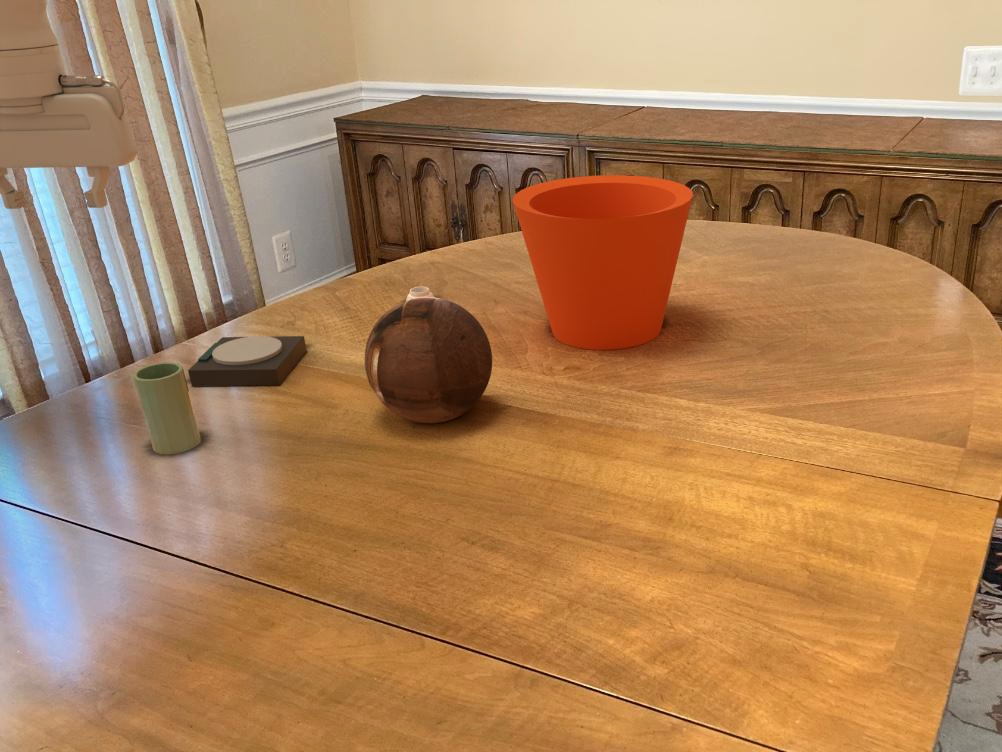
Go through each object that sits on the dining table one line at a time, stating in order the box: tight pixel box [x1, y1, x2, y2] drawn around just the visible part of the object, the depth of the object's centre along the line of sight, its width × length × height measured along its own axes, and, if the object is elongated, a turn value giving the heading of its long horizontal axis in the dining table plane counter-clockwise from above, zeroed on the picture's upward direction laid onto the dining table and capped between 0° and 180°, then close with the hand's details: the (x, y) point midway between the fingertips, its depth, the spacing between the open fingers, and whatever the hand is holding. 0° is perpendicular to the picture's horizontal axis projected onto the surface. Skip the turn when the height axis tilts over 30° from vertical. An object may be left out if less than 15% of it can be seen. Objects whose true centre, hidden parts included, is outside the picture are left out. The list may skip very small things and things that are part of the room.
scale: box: [187, 335, 308, 387], centre depth 135 cm, size 12×12×3 cm
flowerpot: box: [512, 174, 694, 351], centre depth 140 cm, size 25×25×20 cm
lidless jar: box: [405, 286, 435, 301], centre depth 155 cm, size 5×3×5 cm
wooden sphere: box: [364, 296, 493, 424], centre depth 117 cm, size 15×15×15 cm
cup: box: [132, 361, 202, 455], centre depth 112 cm, size 5×5×10 cm
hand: (57, 207), depth 110 cm, fingers open, 8 cm apart
